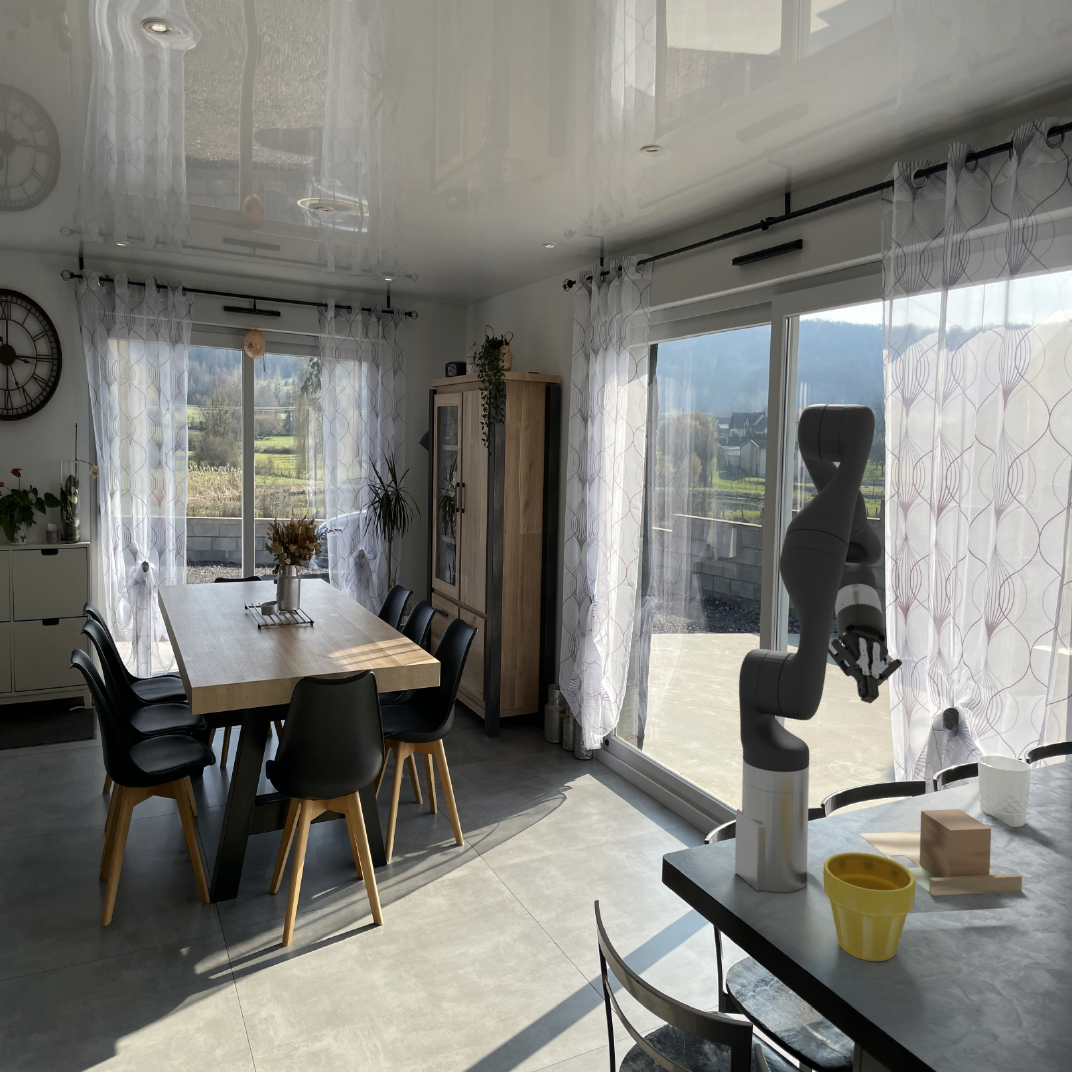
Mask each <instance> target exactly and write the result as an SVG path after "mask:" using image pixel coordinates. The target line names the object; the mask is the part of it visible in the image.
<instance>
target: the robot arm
mask: <svg viewBox="0 0 1072 1072" xmlns="http://www.w3.org/2000/svg"><path fill="white" fill-rule="evenodd" d="M875 427H876V420H875V415H874V412H873V410H872V409H871V408H870V406H867V405H864V404H855V403H854V404H850V403H849V404H845V403H844V404H840V403H839V404H835V403H834V404H832V403H831V404H830V403H819V404H818V403H817V404H811V405H808V406H806V407H805V408H804V409H803V411H802V413H801V415H800V417H799V419H798V426H797V444H798V448H799V452H800V456H801V458H802V460H803V463H804V466H805V467H806V470H807V472H808V474H809V476H810V479H811V481H812V483H813V485H814V487H815V489H816V491H817V493H818V494H816V496H814V497H813V498H812V499H811V500H810V501H809V502H808V503H807V504H805V505H804V507H802V509H800V510H799V511H798V513H796V515H795V516H794V517H793V519H792V520H791V521H790V523H789V524H788V526H787V528H786V531H785V536H784V541H783V545H782V548H781V552H780V558H779V563H778V564H779V566H778V567H779V568H778V569H779V573H780V577H781V579H782V583H783V585H784V588H785V589H786V592H787V594H788V597H789V598H790V602H791V603H792V605H793V608H794V611H795V613H796V615H797V620H798V624H799V640H798V647H797V651H796V653H795V652H789V651H783V650H782V651H781V650H775V649H774V650H773V649H765V648H754V649H751V650H750V651H748V652H747V653H746V654H745V656H744V658H743V660H742V663H741V665H740V671H739V678H738V679H739V680H738V695H739V696H738V700H739V702H738V703H739V721H740V722H739V723H740V724H739V728H740V729H739V730H740V742H741V747H742V783H741V786H742V787H741V788H742V789H741V791H742V792H741V808H738V809H736V811H735V845H734V846H735V849H734V850H735V851H734V852H735V861H734V864H735V865H734V873H735V874H737V875H738V876H740V878H741V879H742V880H744V881H745V882H746V883H748V885H749V886H751V887H752V888H753V889H754V890H755V891H769V892H775V893H793V892H796V891H800V890H801V889H803V888H804V887H805V886H806V885H807V883H808V842H809V841H808V838H809V837H808V835H809V833H808V832H809V831H808V830H809V787H810V786H809V784H810V780H809V779H810V748H809V746H808V744H807V743H806V742H805V741H804V740H803V739H801V738H800V737H798V736H796V735H795V734H793V733H792V732H790V731H789V730H788V729H786V728H785V727H784V726H783V725H782V724H781V723H780V722H779V721H778V719H777V718H776V717H781V718H785V719H791V720H795V721H797V720H798V721H809V720H811V719H812V718H813V717H814V716H815V715H816V713H817V712H818V710H819V707H820V704H821V701H822V696H823V692H824V686H825V681H826V680H825V679H826V673H827V672H826V671H827V663H828V655H830V657H831V659H833V661H834V662H835V663H836V665H837V666H838V667H839V669H840V670H841V672H843V673H844V675H846V676H847V677H852V678H854V681H855V682H856V688H857V695H858V696H859V698H860V701H861V702H864V703H868V704H870V705H871V704H872V703H873V702H874V701H876V699H878V698H879V696H880V691H879V687H880V686H881V685H882V684H883V683H884V682H886V680H888V679H889V678H890V677H891V676H892V675H893V674H894V673H895V671H897V670H898V669H899V668H900V667H901V666H902V665H903V662H902V661H901V659H899V658H895V659H894V658H893V657H892V656H890V654H889V648H887V646H886V643H885V639H886V630H885V623H884V617H883V610H882V605H881V601H880V597H879V595H878V588H877V587H878V586H877V581H876V575H875V573H874V571H873V570H872V569H871V568H870V566H873V565H875V564H877V562H879V561H880V559H881V556H882V554H883V553H882V552H883V549H882V548H883V547H882V543H881V540H880V538H879V536H878V534H877V533H876V531H875V529H873V527H872V525H871V524H870V523H869V521H868V516H867V515H868V514H867V508H866V501H865V497H864V495H863V493H862V492H861V490H860V488H861V485H862V482H863V477H864V474H865V471H866V468H867V464H868V461H869V457H870V454H871V450H872V446H873V441H874V436H875ZM835 463H839V465H838V466H837V465H836V464H835ZM834 614H835V618H836V621H835V622H836V629H837V637H838V638H834V639H832V640H831V642H830V638H831V630H832V625H833V618H834ZM881 662H883V664H882V665H883V667H882V669H883V671H881V673H880V670H879V668H880V666H881ZM847 664H848V665H847Z"/></svg>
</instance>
